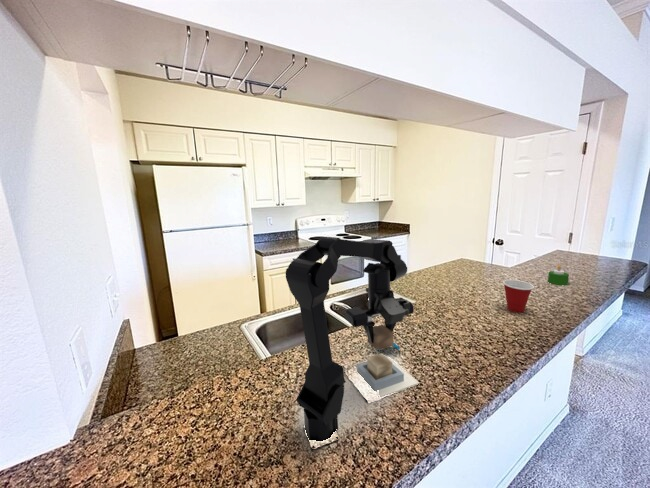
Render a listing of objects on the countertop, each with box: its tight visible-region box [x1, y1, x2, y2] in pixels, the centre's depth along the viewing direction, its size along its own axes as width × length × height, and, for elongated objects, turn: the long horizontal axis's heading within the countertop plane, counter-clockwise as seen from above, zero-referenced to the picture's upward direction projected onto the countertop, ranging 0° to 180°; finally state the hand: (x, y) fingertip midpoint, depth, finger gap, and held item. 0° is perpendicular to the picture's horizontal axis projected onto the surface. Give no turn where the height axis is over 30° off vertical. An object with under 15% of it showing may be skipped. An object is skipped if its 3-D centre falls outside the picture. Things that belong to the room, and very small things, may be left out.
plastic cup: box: [502, 279, 535, 313], centre depth 116 cm, size 11×11×12 cm
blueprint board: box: [356, 356, 420, 397], centre depth 77 cm, size 16×14×3 cm
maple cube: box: [366, 352, 392, 380], centre depth 77 cm, size 5×5×5 cm
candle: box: [547, 264, 570, 286], centre depth 146 cm, size 8×8×10 cm
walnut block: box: [367, 324, 394, 351], centre depth 75 cm, size 5×5×4 cm
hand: (380, 340), depth 75 cm, fingers closed on walnut block, 5 cm apart
